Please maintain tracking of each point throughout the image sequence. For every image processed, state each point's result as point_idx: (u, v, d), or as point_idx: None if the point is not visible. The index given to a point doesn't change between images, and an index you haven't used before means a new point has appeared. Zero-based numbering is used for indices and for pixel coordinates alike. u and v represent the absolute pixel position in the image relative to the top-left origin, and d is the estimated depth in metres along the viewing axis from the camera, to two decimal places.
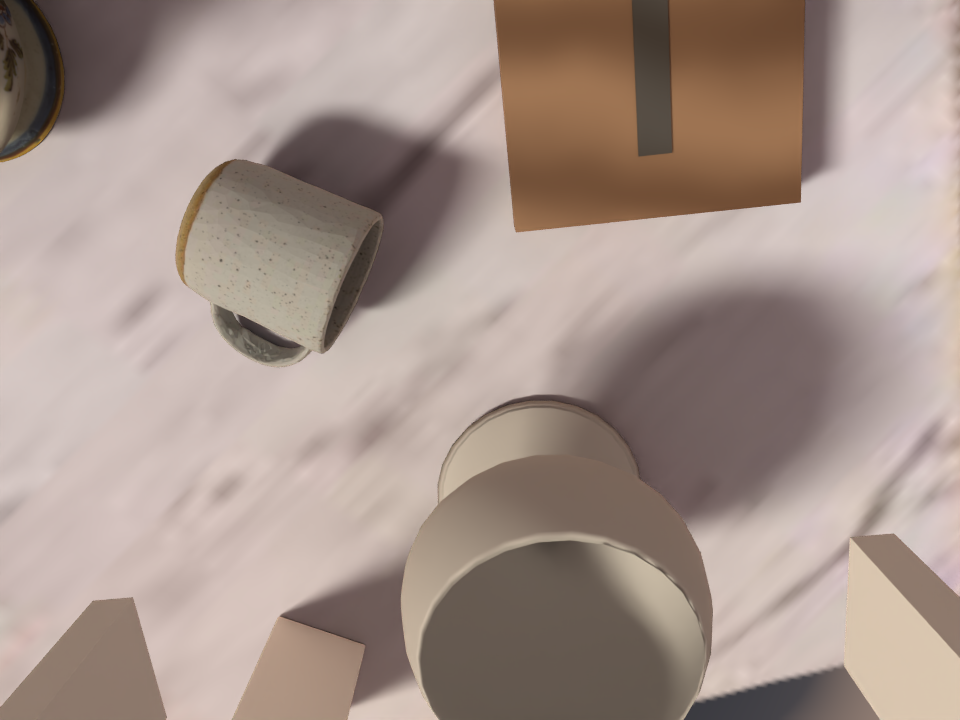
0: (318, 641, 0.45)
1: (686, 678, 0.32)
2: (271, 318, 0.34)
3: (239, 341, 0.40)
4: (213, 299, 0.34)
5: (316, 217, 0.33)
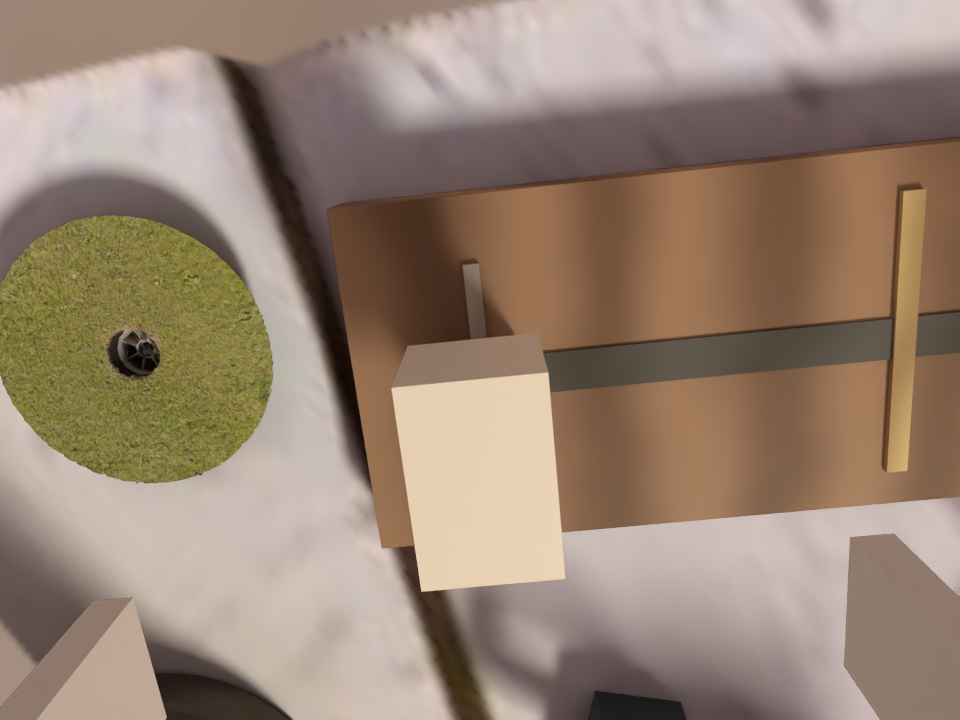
0: None
1: None
2: None
3: None
4: None
5: None
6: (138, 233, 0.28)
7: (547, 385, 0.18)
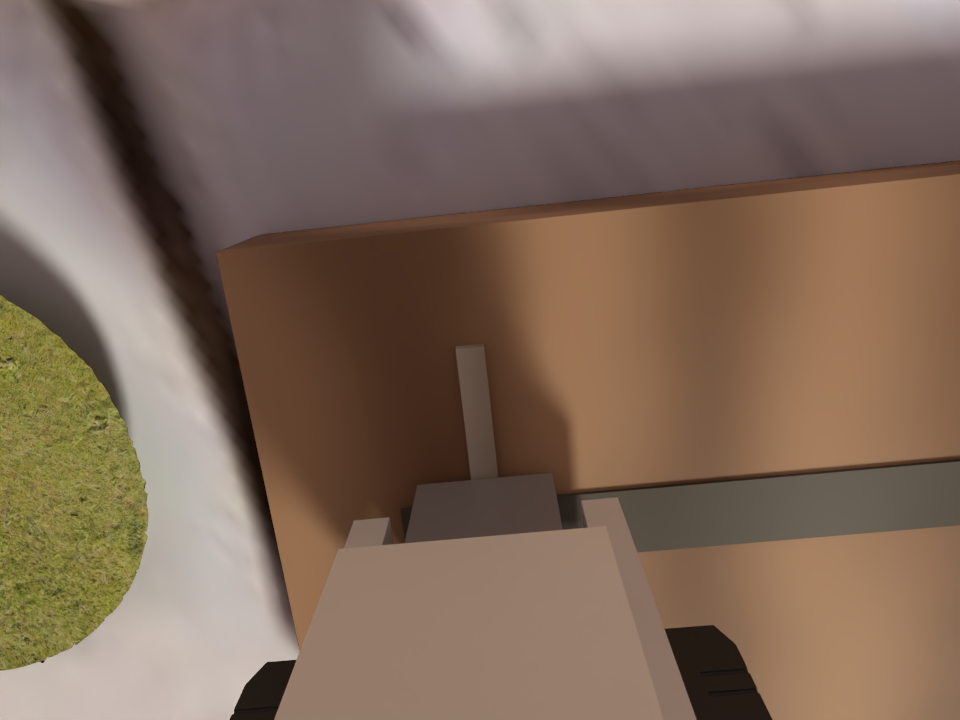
0: None
1: None
2: None
3: None
4: None
5: None
6: None
7: None
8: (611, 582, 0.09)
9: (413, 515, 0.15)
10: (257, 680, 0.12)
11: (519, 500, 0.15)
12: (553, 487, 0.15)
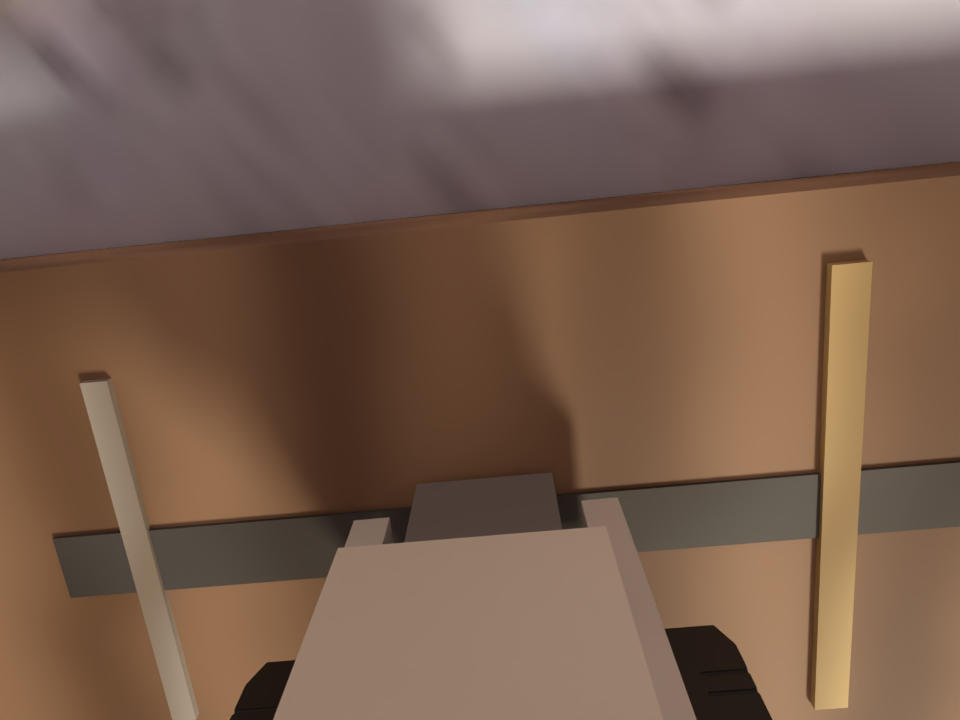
0: None
1: None
2: None
3: None
4: None
5: None
6: None
7: None
8: (611, 582, 0.09)
9: (413, 514, 0.15)
10: (257, 680, 0.12)
11: (519, 500, 0.15)
12: (553, 487, 0.15)
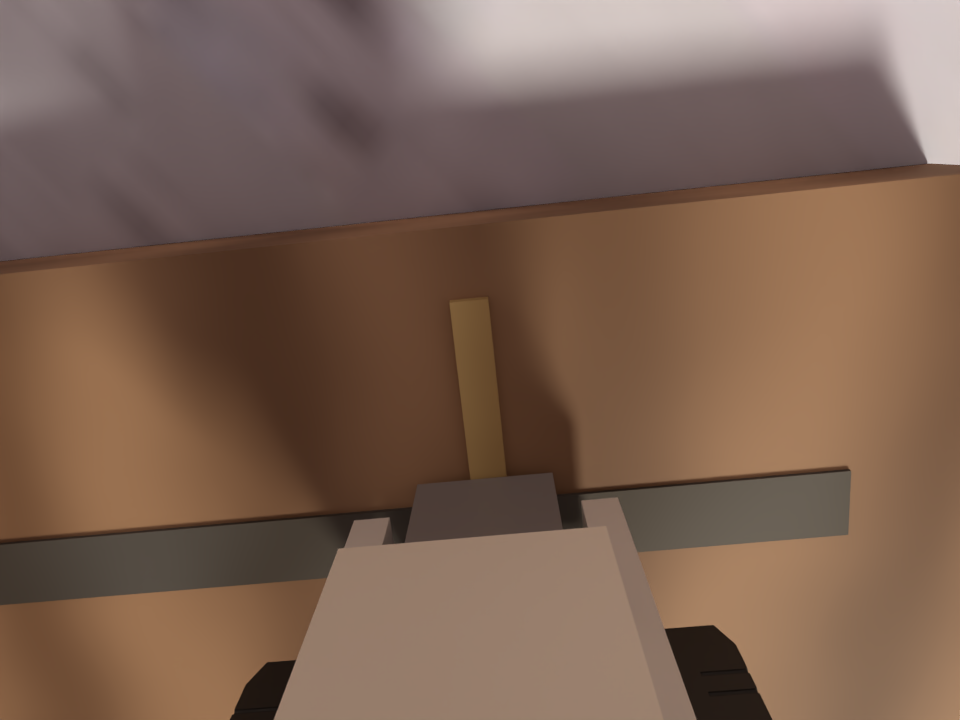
0: None
1: None
2: None
3: None
4: None
5: None
6: None
7: None
8: (611, 582, 0.09)
9: (413, 515, 0.15)
10: (258, 680, 0.12)
11: (519, 500, 0.15)
12: (553, 487, 0.15)
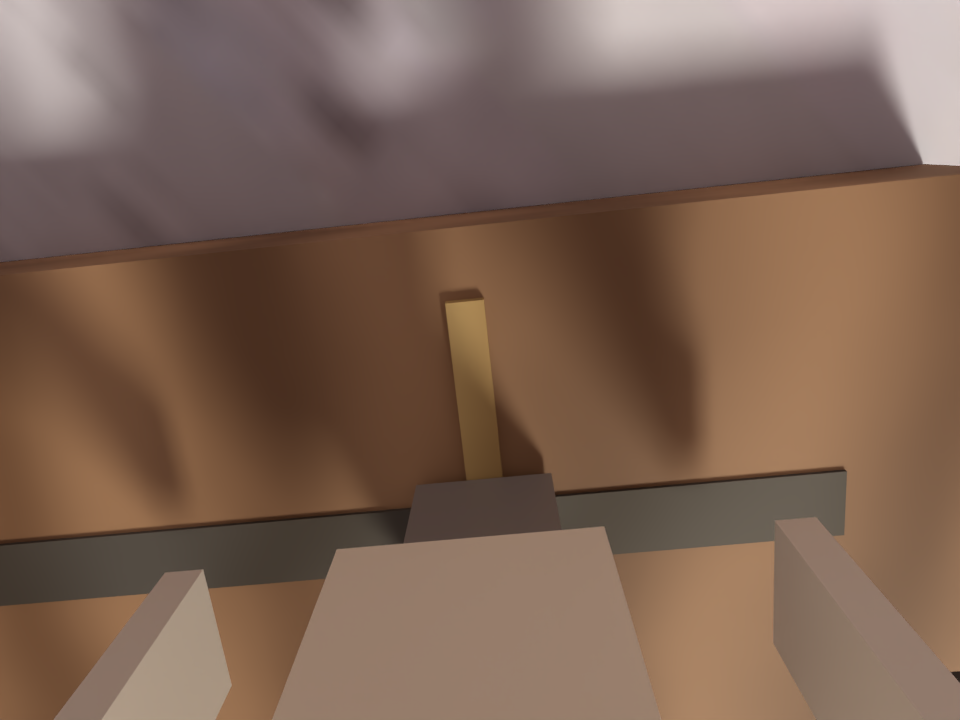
0: None
1: None
2: None
3: None
4: None
5: None
6: None
7: None
8: (609, 582, 0.09)
9: (412, 515, 0.15)
10: None
11: (518, 500, 0.15)
12: (552, 487, 0.15)
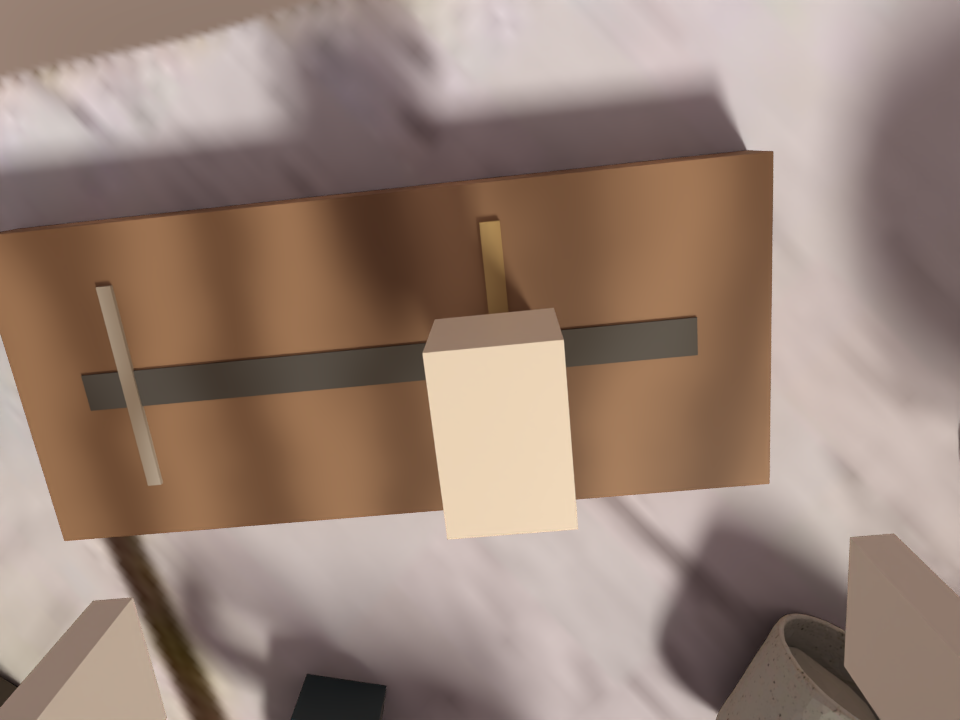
0: None
1: None
2: None
3: None
4: None
5: None
6: None
7: (562, 351, 0.20)
8: (552, 318, 0.23)
9: None
10: None
11: None
12: None
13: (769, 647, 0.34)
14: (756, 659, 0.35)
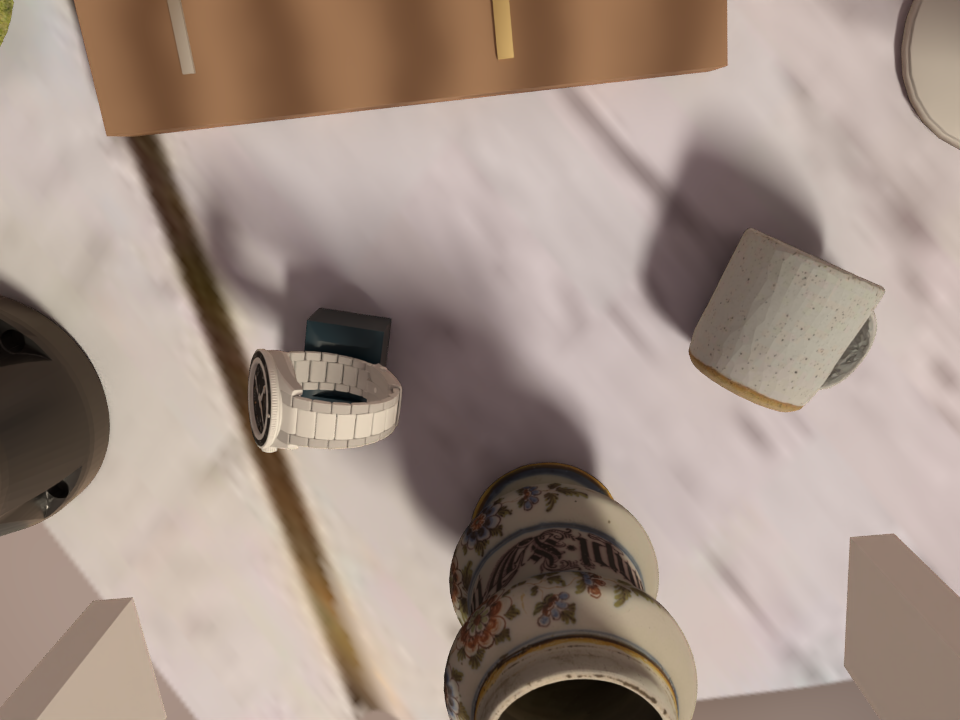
0: None
1: None
2: (851, 333, 0.36)
3: (844, 368, 0.42)
4: (822, 383, 0.38)
5: (761, 286, 0.36)
6: None
7: None
8: None
9: None
10: None
11: None
12: None
13: (740, 242, 0.39)
14: (729, 261, 0.40)
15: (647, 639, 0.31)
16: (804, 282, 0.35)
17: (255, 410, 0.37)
